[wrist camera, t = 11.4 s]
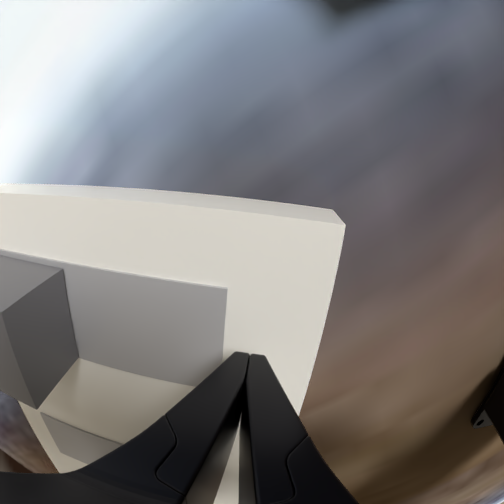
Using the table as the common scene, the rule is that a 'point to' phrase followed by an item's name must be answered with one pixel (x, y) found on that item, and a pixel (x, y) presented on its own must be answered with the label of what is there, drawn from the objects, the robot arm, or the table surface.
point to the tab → (33, 330)
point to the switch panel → (168, 301)
